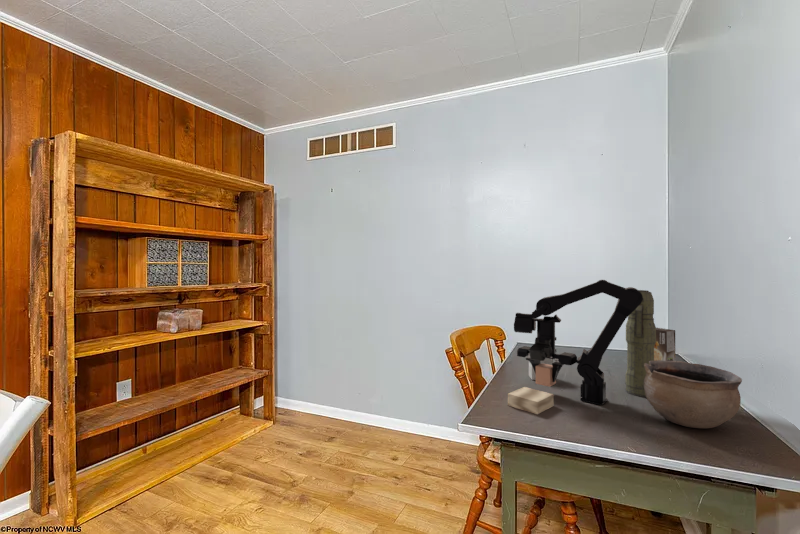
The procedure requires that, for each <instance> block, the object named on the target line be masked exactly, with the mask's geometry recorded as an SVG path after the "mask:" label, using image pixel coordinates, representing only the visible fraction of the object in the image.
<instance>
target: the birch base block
mask: <svg viewBox="0 0 800 534" xmlns="http://www.w3.org/2000/svg"><path fill="white" fill-rule="evenodd" d="M554 398H555V397H554V393H549V392H546V391H542V390H538V389H534V388H530V387H527V386H523V387H521V388H518V389H516V390H513V391H511V392H509V393H507V406H509V407H511V408H514V409H517V410H518V409H519V410H522V411H525V412H528V413H532V414H535V415H539V414H541V413H543V412H544V411H546V410H548V409H550V408H552V407H554V405H555V404H554V402H555V401H554Z"/></svg>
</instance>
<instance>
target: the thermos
mask: <svg viewBox="0 0 800 534" xmlns="http://www.w3.org/2000/svg"><path fill="white" fill-rule="evenodd" d="M638 290H639V291H640V292H641V294H642V296H643V300H642V303H641V304H640V305H639V306H638V307H637V308H636V309H635V310H634V311H633V312H632V313H631V314H630V315H629V316H628V317H627V321H626V324H625V341H626V344H627V347H626V349H627V351H626V353H627V355H626V356H627V357H626V358H627V359H626V360H627V361H626V367H627V368H626V372H625V375H624V376H625V381H624V384H625V392H626V393H627V394H629V395H632V396H635V397H642V398H647V397H646V395H645V391H644V378H645V376H646V373H647V372H646V370H645V367H644V363H647V364H649V361H654V345H655V343H656V328H657V327H656V324H655V321H654V320H655V319H654V318H655V317H654V314H655V299H654V297H653V294H652V292H651V291H649V290H646V289H645V290H643V289H642V290H641V289H638ZM649 365H650V364H649Z"/></svg>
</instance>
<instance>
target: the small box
mask: <svg viewBox="0 0 800 534" xmlns="http://www.w3.org/2000/svg"><path fill="white" fill-rule="evenodd" d="M541 363H543V364H549V365H552V363H554V359H550V358H545V360H544V361H540V364H541ZM528 377H529V378H530V379H531V380H532V381H536V374H535V371H534V369H533V366H532V364H531V363H530V362H529V361H528Z"/></svg>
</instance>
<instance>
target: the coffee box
mask: <svg viewBox="0 0 800 534" xmlns="http://www.w3.org/2000/svg"><path fill="white" fill-rule="evenodd" d="M658 360H662V361H676V330H674V329H668V328H662V327H656V343H655V345H654V361H658Z"/></svg>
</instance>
